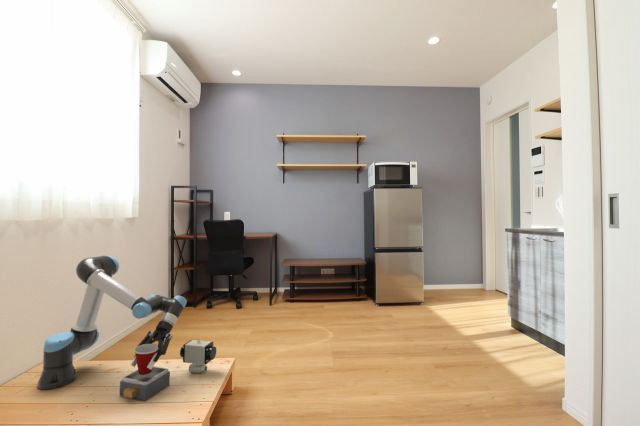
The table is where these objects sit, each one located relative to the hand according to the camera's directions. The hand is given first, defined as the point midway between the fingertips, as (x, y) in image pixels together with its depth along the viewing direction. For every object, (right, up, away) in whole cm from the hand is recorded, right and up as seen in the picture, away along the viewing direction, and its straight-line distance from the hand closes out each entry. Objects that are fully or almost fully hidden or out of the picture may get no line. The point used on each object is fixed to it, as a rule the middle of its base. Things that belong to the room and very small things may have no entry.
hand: (140, 367), depth 148 cm
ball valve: (+19, -14, +22) cm, 32 cm away
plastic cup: (+1, -4, +3) cm, 5 cm away
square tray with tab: (0, -13, +1) cm, 13 cm away
